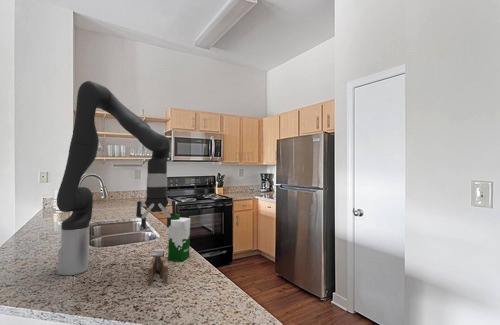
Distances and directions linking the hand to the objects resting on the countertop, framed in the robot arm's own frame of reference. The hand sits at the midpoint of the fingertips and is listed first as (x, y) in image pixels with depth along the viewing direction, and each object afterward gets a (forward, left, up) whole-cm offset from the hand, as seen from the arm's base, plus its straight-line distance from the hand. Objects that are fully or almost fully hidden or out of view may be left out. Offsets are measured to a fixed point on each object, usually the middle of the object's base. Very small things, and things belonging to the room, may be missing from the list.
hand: (156, 227), depth 99 cm
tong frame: (0, +1, -18) cm, 18 cm away
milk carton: (+8, +18, -19) cm, 27 cm away
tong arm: (+2, 0, -18) cm, 18 cm away
